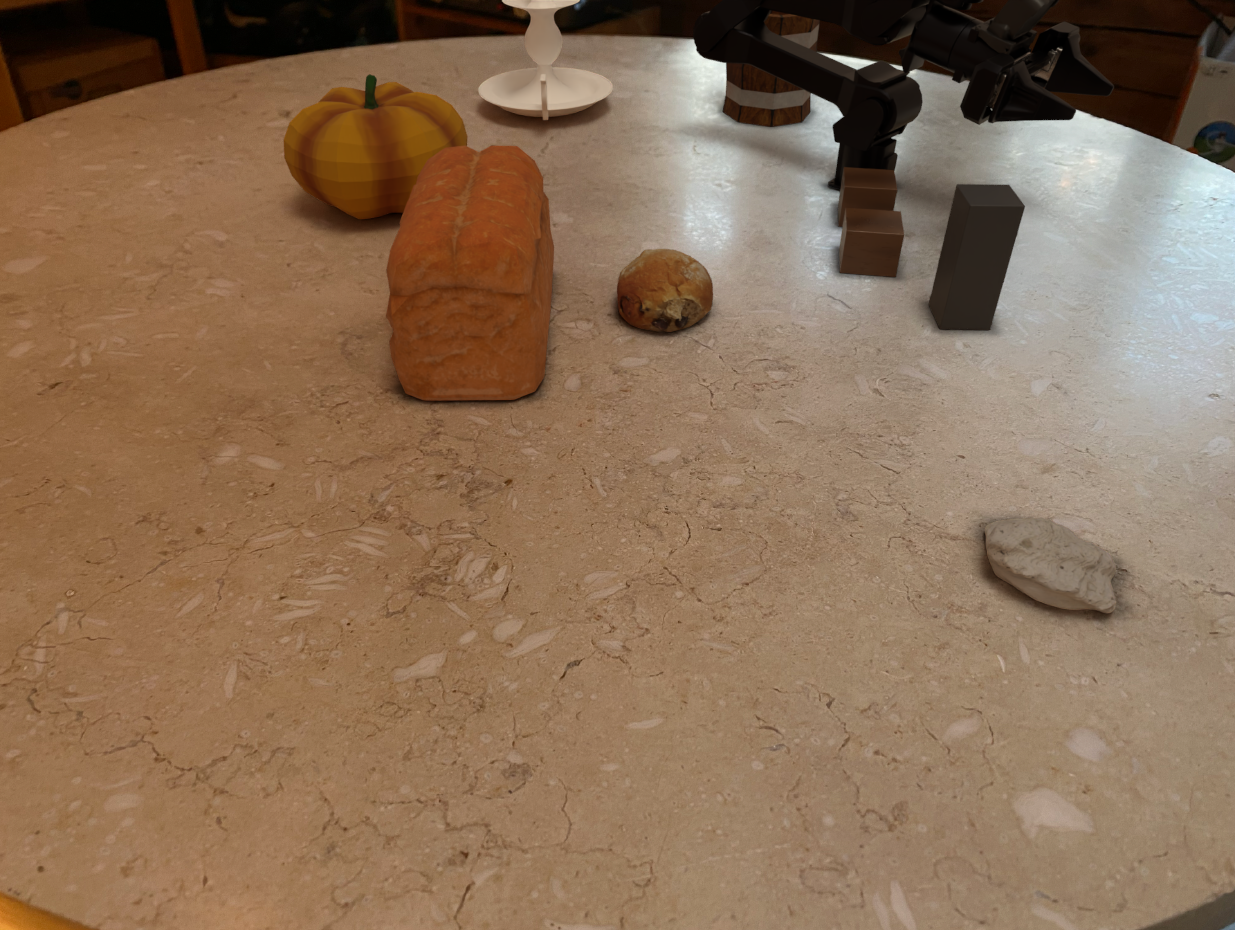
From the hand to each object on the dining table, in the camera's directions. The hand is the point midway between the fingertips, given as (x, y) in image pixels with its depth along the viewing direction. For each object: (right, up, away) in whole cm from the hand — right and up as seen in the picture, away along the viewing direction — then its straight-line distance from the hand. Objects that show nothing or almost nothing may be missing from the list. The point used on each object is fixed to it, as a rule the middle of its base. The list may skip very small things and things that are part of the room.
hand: (1093, 102), depth 98 cm
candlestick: (-61, +16, +46) cm, 78 cm away
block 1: (-20, -8, +16) cm, 27 cm away
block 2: (-22, -15, +7) cm, 27 cm away
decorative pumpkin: (-79, -4, +21) cm, 82 cm away
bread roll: (-45, -22, -1) cm, 50 cm away
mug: (-27, +18, +49) cm, 59 cm away
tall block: (-15, -23, -3) cm, 27 cm away
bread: (-63, -24, -4) cm, 68 cm away
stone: (-19, -45, -30) cm, 58 cm away
